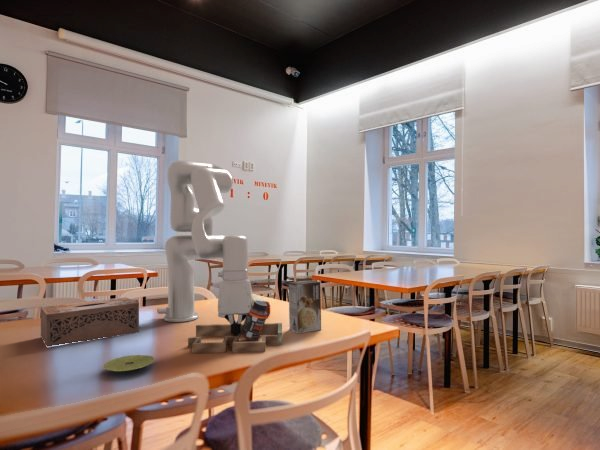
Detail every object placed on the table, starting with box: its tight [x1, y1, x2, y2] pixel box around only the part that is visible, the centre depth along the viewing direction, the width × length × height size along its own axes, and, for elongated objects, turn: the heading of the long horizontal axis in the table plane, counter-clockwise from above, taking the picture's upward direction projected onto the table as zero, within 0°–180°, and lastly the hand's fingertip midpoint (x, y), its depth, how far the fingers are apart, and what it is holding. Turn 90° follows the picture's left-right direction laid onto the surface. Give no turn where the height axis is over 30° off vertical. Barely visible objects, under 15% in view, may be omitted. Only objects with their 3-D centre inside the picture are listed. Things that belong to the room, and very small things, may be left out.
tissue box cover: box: [40, 296, 140, 346], centre depth 125 cm, size 26×14×10 cm, turn 130°
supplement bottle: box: [241, 300, 268, 342], centre depth 116 cm, size 6×6×11 cm
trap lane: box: [187, 322, 283, 354], centre depth 114 cm, size 27×17×4 cm, turn 93°
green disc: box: [102, 354, 155, 372], centre depth 93 cm, size 11×11×2 cm
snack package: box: [252, 293, 271, 318], centre depth 155 cm, size 21×7×7 cm, turn 20°
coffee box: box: [288, 279, 322, 334], centre depth 128 cm, size 9×6×16 cm
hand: (236, 336), depth 116 cm, fingers closed
